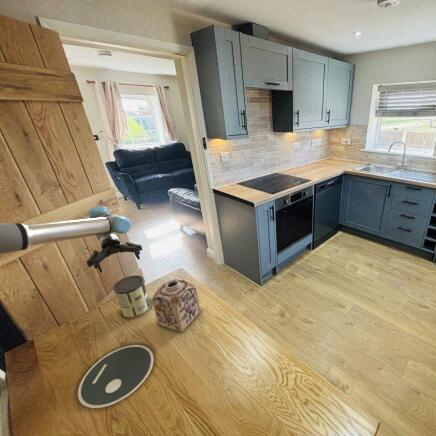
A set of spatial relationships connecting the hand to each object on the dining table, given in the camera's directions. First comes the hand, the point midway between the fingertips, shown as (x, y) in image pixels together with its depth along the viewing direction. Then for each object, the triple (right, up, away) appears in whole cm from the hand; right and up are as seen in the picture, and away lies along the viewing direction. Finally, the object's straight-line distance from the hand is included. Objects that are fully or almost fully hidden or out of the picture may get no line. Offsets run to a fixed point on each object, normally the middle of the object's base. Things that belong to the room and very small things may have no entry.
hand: (120, 263), depth 100 cm
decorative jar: (+27, -22, -2) cm, 35 cm away
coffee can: (+6, -20, +1) cm, 21 cm away
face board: (+17, -31, -24) cm, 43 cm away
